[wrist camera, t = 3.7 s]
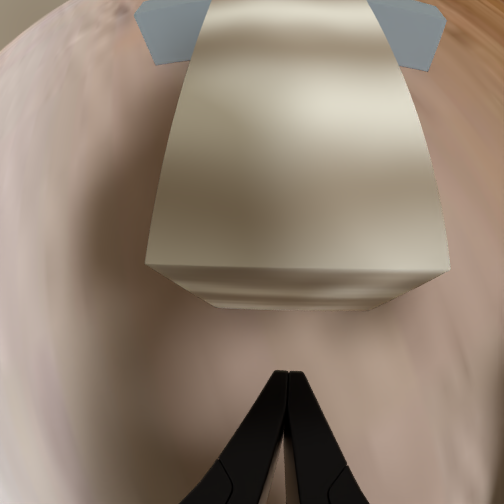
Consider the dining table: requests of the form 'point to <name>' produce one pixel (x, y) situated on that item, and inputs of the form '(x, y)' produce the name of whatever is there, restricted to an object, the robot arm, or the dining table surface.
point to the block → (296, 165)
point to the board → (382, 3)
